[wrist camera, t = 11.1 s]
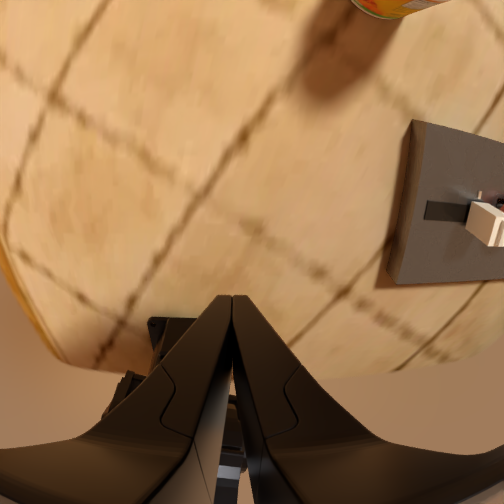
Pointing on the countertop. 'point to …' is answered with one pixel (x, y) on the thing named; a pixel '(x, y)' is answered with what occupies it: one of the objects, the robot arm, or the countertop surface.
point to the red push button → (500, 206)
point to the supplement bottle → (394, 7)
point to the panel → (446, 207)
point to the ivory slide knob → (486, 223)
